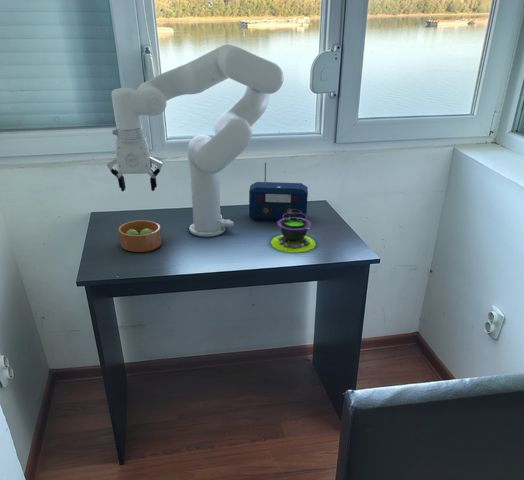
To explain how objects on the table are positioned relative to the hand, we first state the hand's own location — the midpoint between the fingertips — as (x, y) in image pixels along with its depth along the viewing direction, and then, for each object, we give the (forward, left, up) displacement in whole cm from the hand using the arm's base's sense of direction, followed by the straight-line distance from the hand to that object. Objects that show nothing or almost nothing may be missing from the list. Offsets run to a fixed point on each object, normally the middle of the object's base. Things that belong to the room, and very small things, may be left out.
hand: (138, 189), depth 167 cm
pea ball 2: (-2, +5, -14) cm, 15 cm away
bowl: (0, +6, -17) cm, 18 cm away
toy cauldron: (-51, +2, -17) cm, 53 cm away
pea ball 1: (+3, +6, -14) cm, 15 cm away
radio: (-46, -21, -17) cm, 53 cm away
